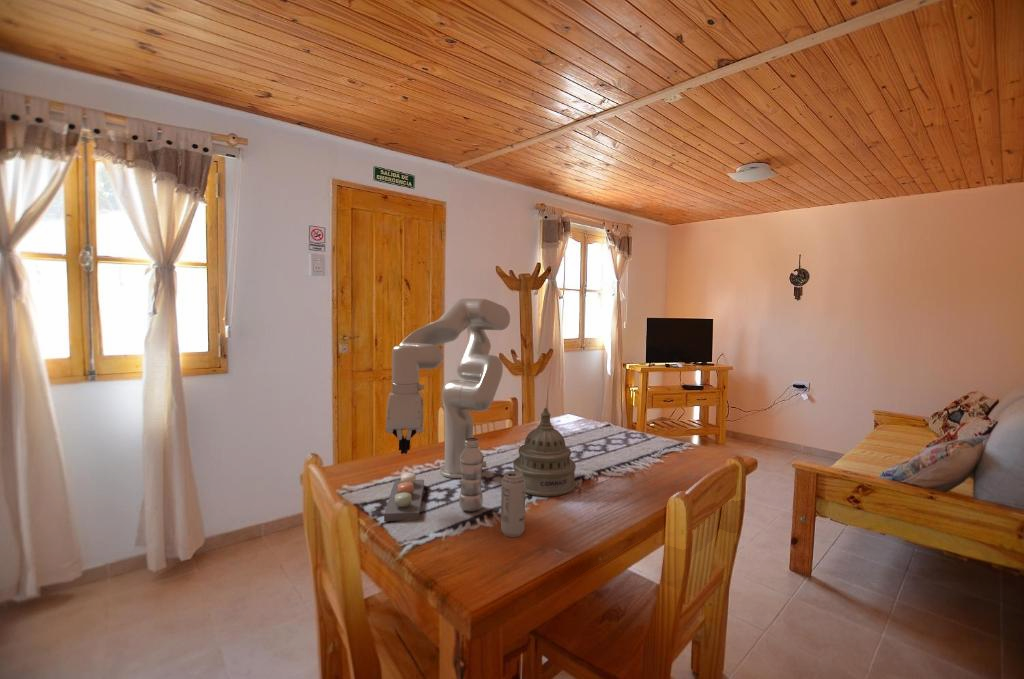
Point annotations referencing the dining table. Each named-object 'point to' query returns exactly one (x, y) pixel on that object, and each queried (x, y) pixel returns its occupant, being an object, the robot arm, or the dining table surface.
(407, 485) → the key terracotta
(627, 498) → the dining table surface
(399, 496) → the key sage
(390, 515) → the button board
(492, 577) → the dining table surface
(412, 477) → the key cream
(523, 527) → the energy drink can
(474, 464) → the plastic bottle
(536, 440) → the dome
